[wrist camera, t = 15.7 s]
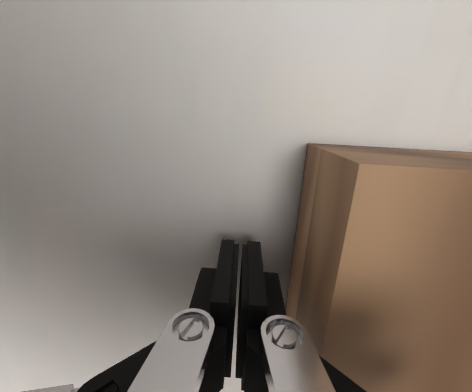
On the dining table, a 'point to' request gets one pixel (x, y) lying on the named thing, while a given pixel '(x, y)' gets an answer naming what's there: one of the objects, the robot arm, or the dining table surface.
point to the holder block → (387, 265)
